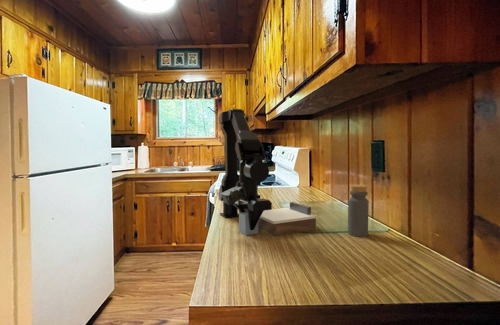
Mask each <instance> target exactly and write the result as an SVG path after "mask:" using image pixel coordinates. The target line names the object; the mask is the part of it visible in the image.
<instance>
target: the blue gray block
mask: <svg viewBox="0 0 500 325" xmlns="http://www.w3.org/2000/svg"><path fill="white" fill-rule="evenodd" d="M238 213H239V212H238ZM238 232H239V233H241V234H243V235H245V236H249V235H250V236H251V235H255V234H259V228H258V222H257V224H256V226H255V228H254V230H250V225H249V216H248V213H247V212H241V213H239V216H238Z"/></svg>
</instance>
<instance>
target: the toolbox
mask: <svg viewBox="0 0 500 325" xmlns="http://www.w3.org/2000/svg"><path fill="white" fill-rule="evenodd" d="M258 230H261V231H263V232H265V233H267V234H269V235H271V236H273V237H277V236H283V235H288V234H294V233H301V232H307V231H315V230H317V218H314V219H307V220H300V221H292V222H285V223H278V224H272V223H270V222H268V221H266V220H263V219H261V218H259V220H258Z"/></svg>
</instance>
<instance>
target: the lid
mask: <svg viewBox="0 0 500 325" xmlns="http://www.w3.org/2000/svg"><path fill="white" fill-rule="evenodd" d="M260 218H261V219H263V220H266V221H268V222H270V223H272V224H278V223H285V222H292V221H300V220H307V219H314V218H316V219H317V218H318V215H316V214H313V213H312V207H311V206H308V205H305V204H301V203H297V202H295V201H291V202H289V207H282V208H274V209H273V208H272V210H265V211H263V213H262V215H261V216H260Z"/></svg>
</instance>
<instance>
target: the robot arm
mask: <svg viewBox="0 0 500 325" xmlns="http://www.w3.org/2000/svg"><path fill="white" fill-rule="evenodd" d="M218 124H219V126H220V130H221V132H222V133H223V135H224V156H225V157H224V158H225V159H224V162H225V163H224V166H225V173H224V175H223V177H222V179H221V184H219V190H218V196H217V197H218V200H219V201H220V202H222V212H220V213H219V215H221V216H222V217H224V218H235V217H239V213H241V212H247V213H248V216H249V225H250V230H254V228H255V226H256V224H257V222H258V220H259V218H260V216H261V215H262V213H263V211H265V210H273V203H272V202H271V200H269V199H266V198H263V197H262V198H261V195H260V194H259V192H258V191H259V189H258V188H259V187H258V186H261V183H262V182H265V181H266V180H267V179H268V178H269V175H270V168H269V166H268V165H267V164H266V163H265V162H263V161H265V160H266V156H267V155H266V151H265V149H264V146H263V144H262V141H261V140H260V138H259V137H258V135H257V134H255V133H254V132H252V131H251V128H250V126H249V124H248V121H247V119H246V117H245V111H244V109H242V108H231V109H228V110H226V111H221V113H220V114H219V116H218ZM238 163H239V164H238ZM238 165H239V167H238ZM238 168H239V171H238ZM238 172H239V174H238Z"/></svg>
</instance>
